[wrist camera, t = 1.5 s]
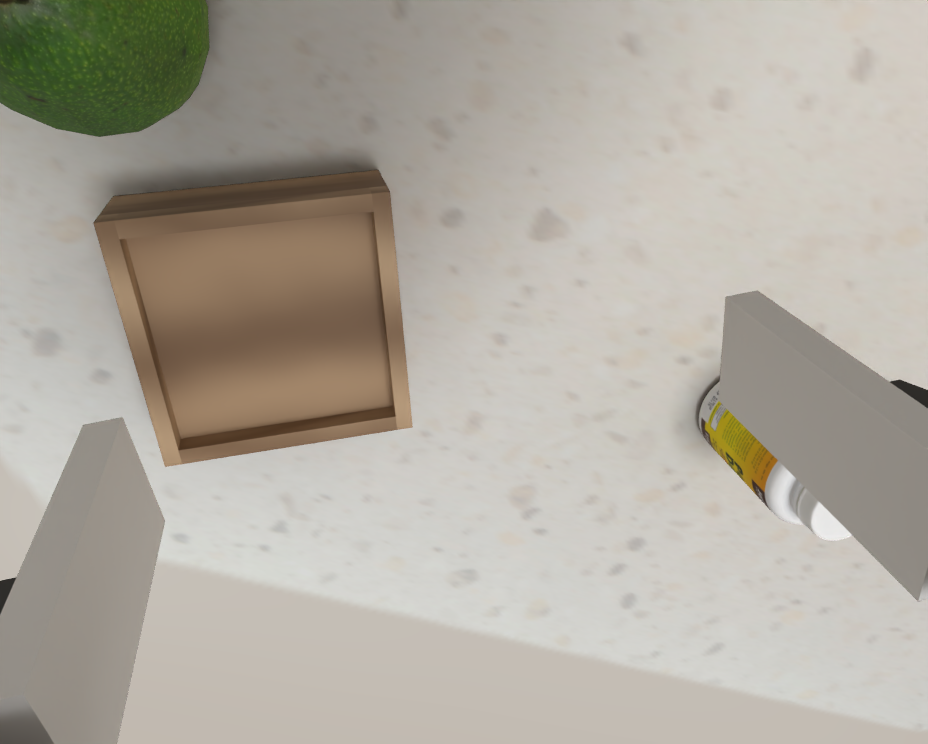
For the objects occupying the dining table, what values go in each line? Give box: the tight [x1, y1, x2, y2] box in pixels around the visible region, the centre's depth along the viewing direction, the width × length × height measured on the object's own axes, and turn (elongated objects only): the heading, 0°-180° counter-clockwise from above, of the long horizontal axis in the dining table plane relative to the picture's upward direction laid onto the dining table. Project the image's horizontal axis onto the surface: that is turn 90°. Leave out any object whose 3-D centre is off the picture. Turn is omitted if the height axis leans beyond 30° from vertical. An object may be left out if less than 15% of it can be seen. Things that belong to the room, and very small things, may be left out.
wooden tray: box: [94, 170, 412, 467], centre depth 34 cm, size 12×12×4 cm
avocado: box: [0, 0, 209, 137], centre depth 24 cm, size 8×8×12 cm
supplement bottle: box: [699, 381, 853, 541], centre depth 41 cm, size 6×6×10 cm
